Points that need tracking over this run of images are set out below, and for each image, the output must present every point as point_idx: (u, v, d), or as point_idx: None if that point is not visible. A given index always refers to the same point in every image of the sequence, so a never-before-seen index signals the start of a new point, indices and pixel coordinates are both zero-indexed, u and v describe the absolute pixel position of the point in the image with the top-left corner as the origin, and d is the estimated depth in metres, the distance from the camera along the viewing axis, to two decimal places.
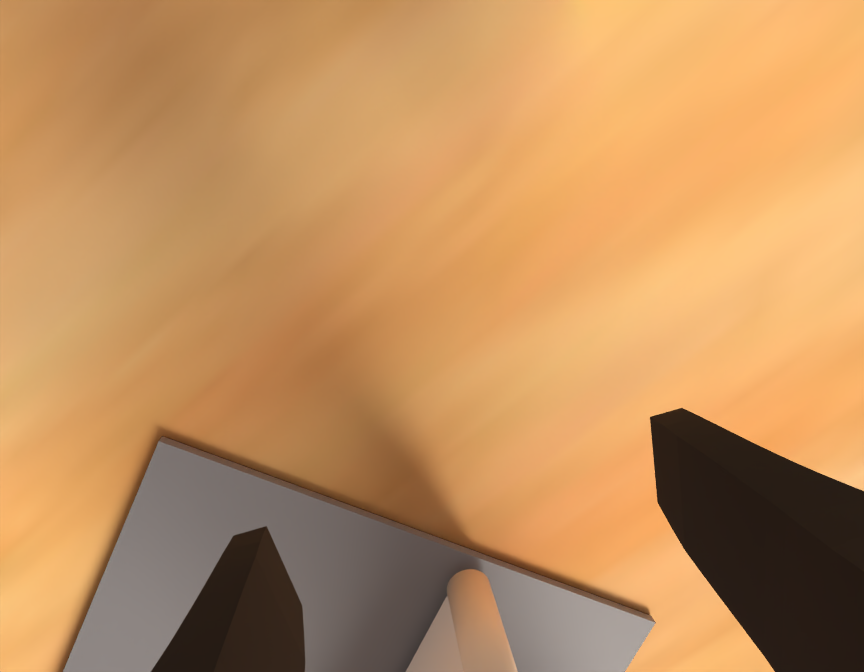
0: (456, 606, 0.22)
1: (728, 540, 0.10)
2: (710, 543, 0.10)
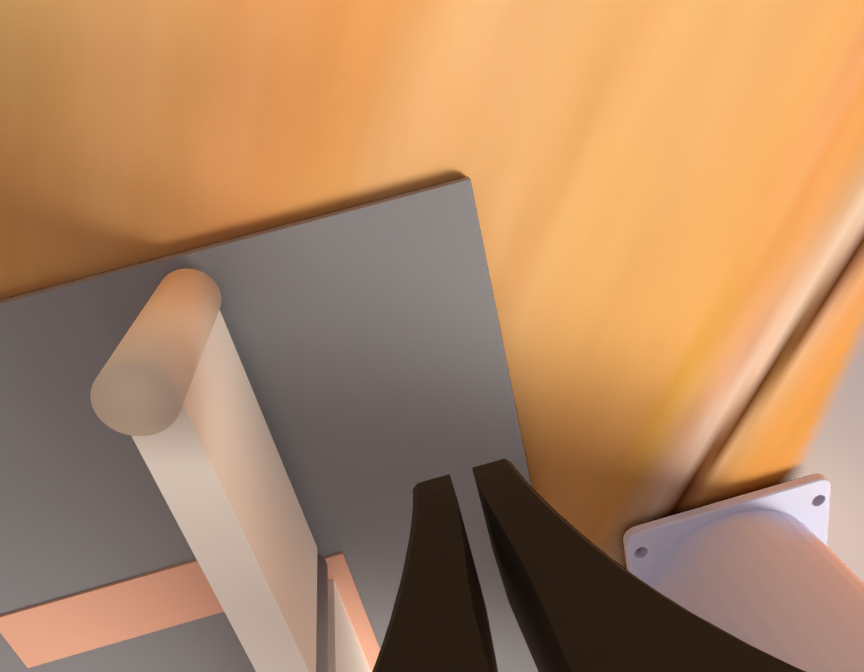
0: None
1: (521, 601, 0.10)
2: (516, 600, 0.10)
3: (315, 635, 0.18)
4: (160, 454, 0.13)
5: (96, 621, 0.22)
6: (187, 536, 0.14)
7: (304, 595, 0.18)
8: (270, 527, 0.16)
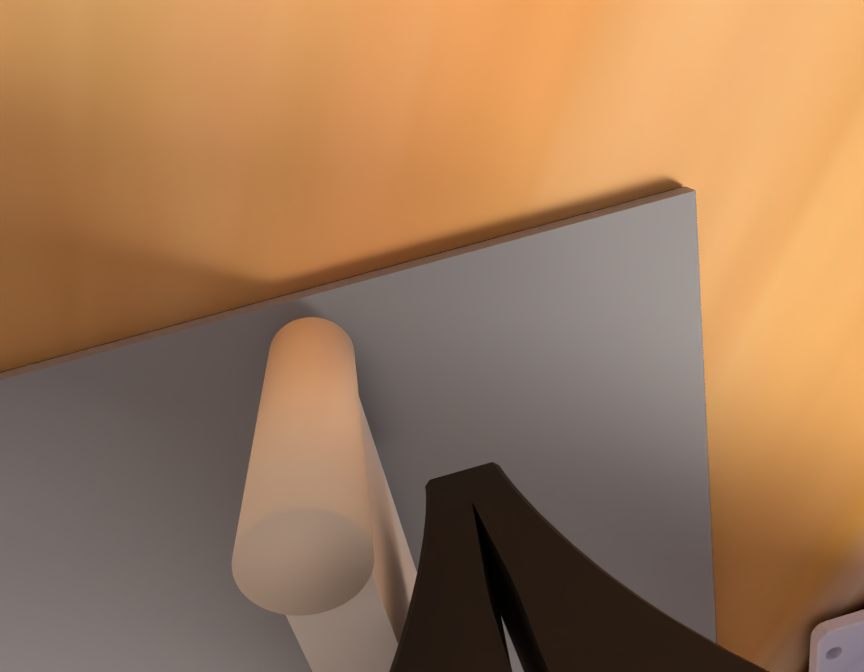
0: None
1: (507, 605, 0.10)
2: (502, 604, 0.10)
3: None
4: (321, 629, 0.08)
5: None
6: None
7: None
8: None
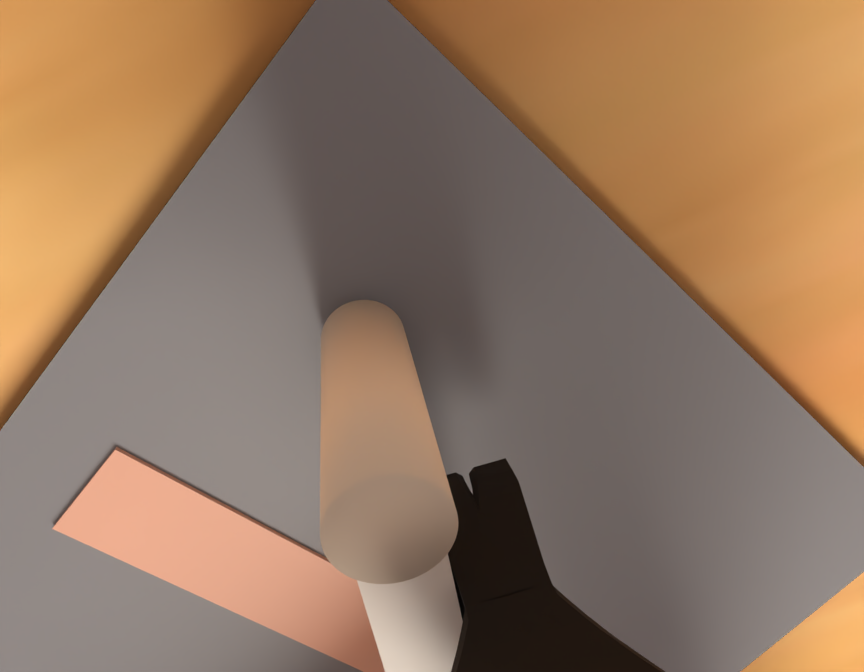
0: None
1: None
2: (462, 616, 0.10)
3: None
4: (391, 602, 0.08)
5: (201, 550, 0.14)
6: None
7: None
8: None
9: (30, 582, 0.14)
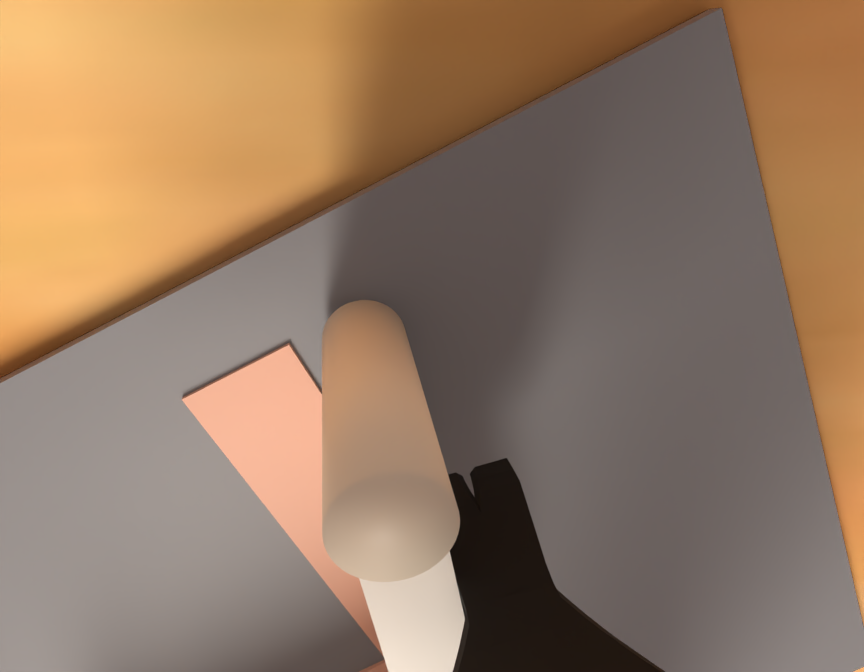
0: None
1: None
2: None
3: None
4: (393, 599, 0.08)
5: (303, 474, 0.14)
6: None
7: None
8: None
9: (123, 445, 0.13)
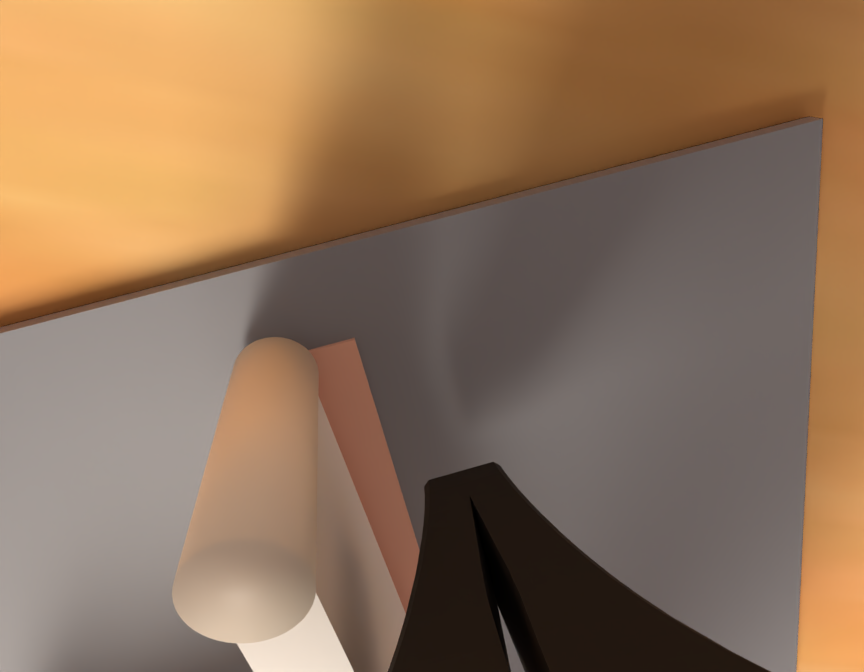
0: None
1: (508, 605, 0.10)
2: (503, 604, 0.10)
3: None
4: (273, 654, 0.08)
5: None
6: None
7: None
8: None
9: (161, 406, 0.13)
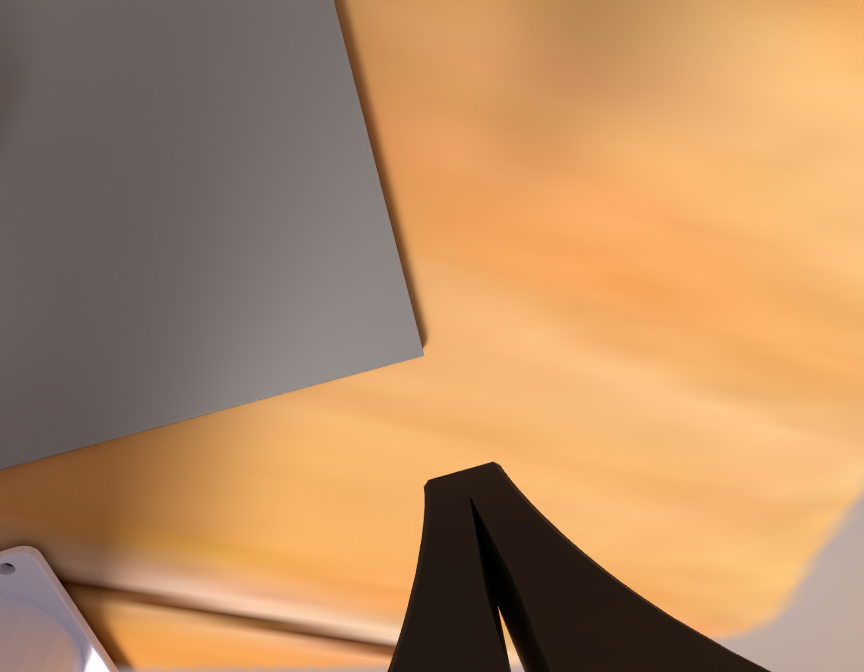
0: None
1: (508, 604, 0.10)
2: (503, 604, 0.10)
3: None
4: None
5: None
6: None
7: None
8: None
9: None
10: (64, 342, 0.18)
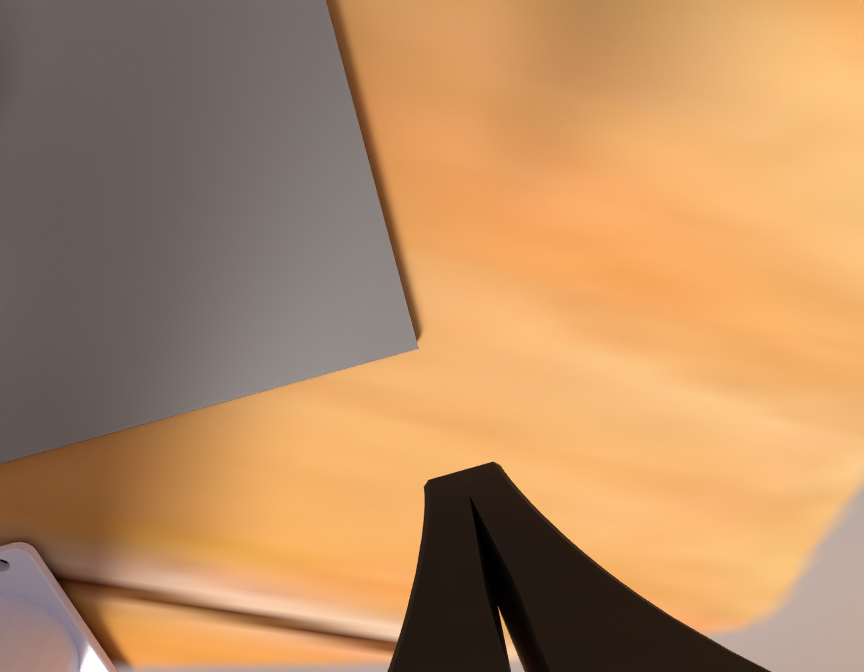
0: None
1: (508, 605, 0.10)
2: (503, 604, 0.10)
3: None
4: None
5: None
6: None
7: None
8: None
9: None
10: (56, 336, 0.18)
